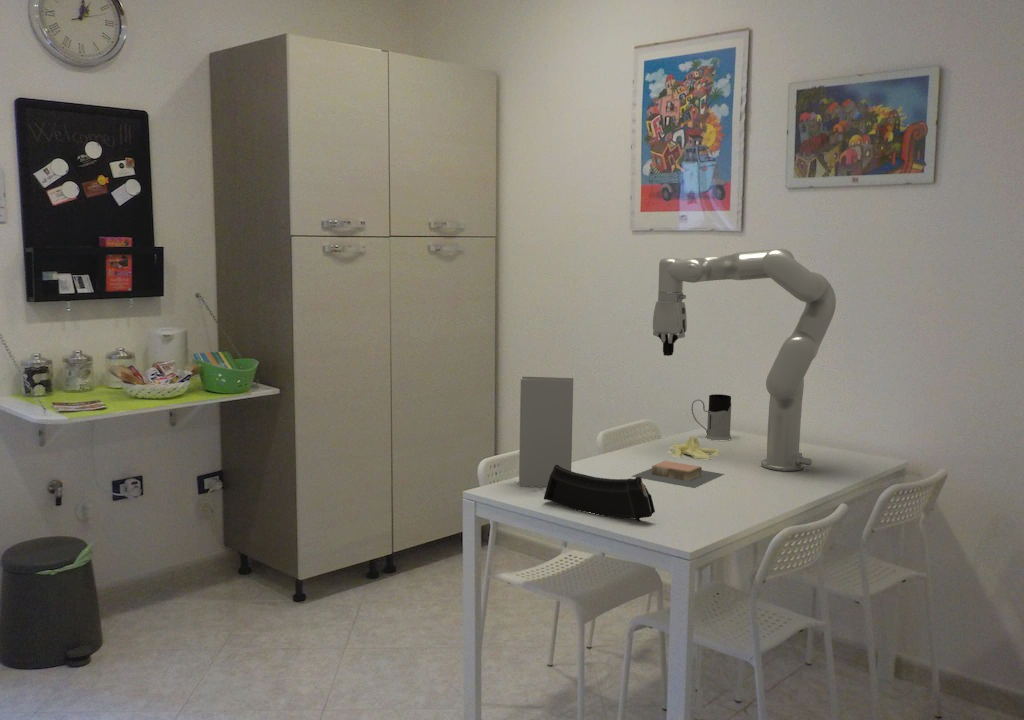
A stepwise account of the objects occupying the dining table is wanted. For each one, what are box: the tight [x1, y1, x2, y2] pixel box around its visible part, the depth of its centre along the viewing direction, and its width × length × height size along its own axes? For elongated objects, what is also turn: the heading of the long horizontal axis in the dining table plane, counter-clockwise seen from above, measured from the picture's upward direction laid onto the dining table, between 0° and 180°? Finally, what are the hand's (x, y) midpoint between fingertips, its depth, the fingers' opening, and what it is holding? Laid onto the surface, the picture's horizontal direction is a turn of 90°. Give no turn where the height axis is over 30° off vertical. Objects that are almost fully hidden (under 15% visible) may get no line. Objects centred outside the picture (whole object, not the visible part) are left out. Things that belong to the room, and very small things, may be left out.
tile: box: [651, 460, 703, 481], centre depth 273 cm, size 3×8×12 cm
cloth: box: [667, 436, 721, 460], centre depth 303 cm, size 22×19×6 cm
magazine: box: [543, 465, 656, 523], centre depth 235 cm, size 17×3×30 cm
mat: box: [631, 467, 725, 489], centre depth 273 cm, size 20×20×1 cm
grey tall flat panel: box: [518, 376, 574, 488], centre depth 260 cm, size 14×6×30 cm, turn 84°
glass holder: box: [691, 393, 732, 441], centre depth 326 cm, size 9×14×15 cm, turn 92°
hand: (668, 355), depth 298 cm, fingers closed
